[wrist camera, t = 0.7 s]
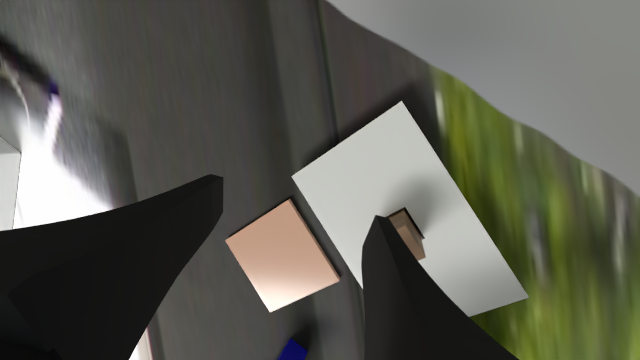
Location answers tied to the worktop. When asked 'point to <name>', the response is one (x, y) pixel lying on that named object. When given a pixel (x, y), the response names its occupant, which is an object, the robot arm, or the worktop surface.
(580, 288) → the worktop surface
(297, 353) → the cable clip
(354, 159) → the board
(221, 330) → the worktop surface
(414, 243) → the walnut peg
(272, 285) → the terracotta tile
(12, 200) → the gable box
